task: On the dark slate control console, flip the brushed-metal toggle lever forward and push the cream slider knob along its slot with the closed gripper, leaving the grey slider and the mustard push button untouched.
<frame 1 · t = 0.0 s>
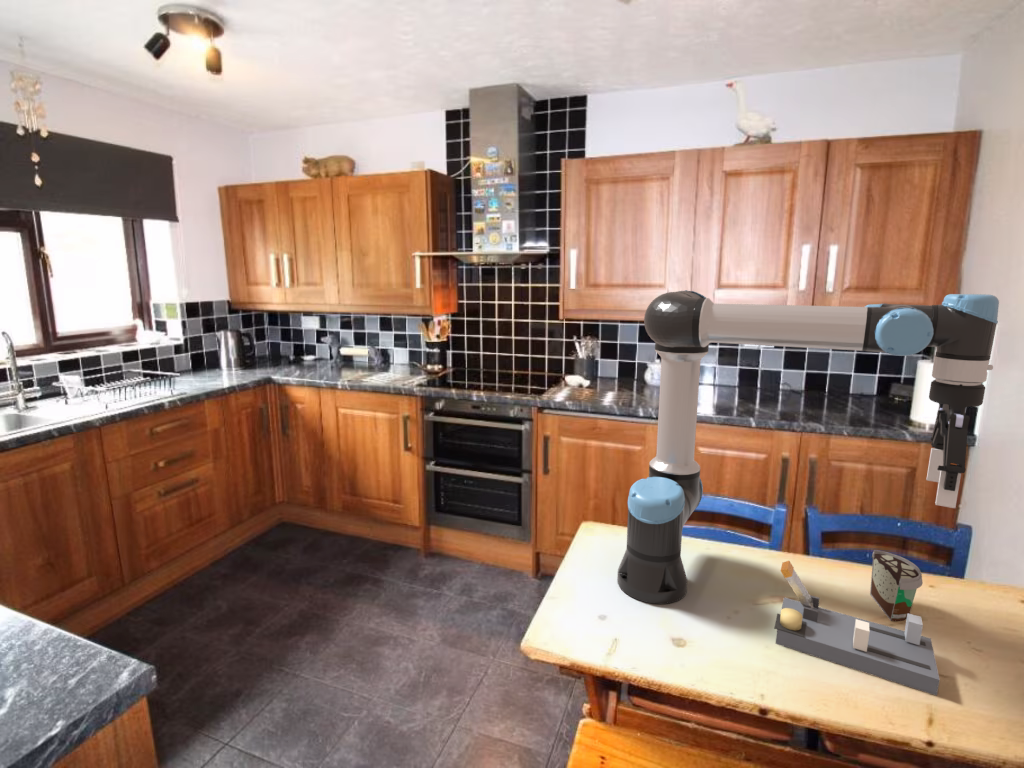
hand: (939, 493, 99), 28 cm above the table, fingers open, 13 cm apart
button: (791, 619, 100), point 4 cm above the table, slide at 0.0 cm
lever: (798, 587, 104), point 8 cm above the table, hinge at -35.0°
panel: (850, 648, 98), on the table
food container: (896, 610, 110), on the table
cream slider: (861, 635, 94), point 5 cm above the table, slide at 0.0 cm
grey slider: (913, 629, 96), point 5 cm above the table, slide at 6.0 cm
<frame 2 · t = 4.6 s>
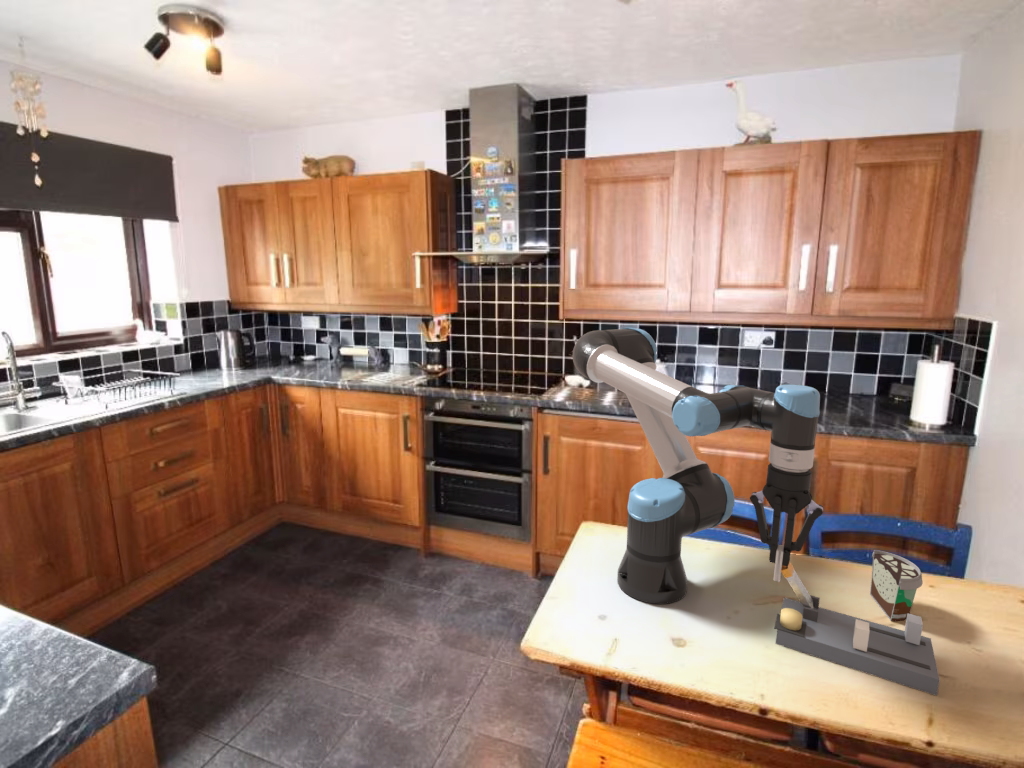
hand: (777, 578, 106), 9 cm above the table, fingers closed
lever: (798, 587, 104), point 8 cm above the table, hinge at -34.8°, touching gripper
everything else where it was.
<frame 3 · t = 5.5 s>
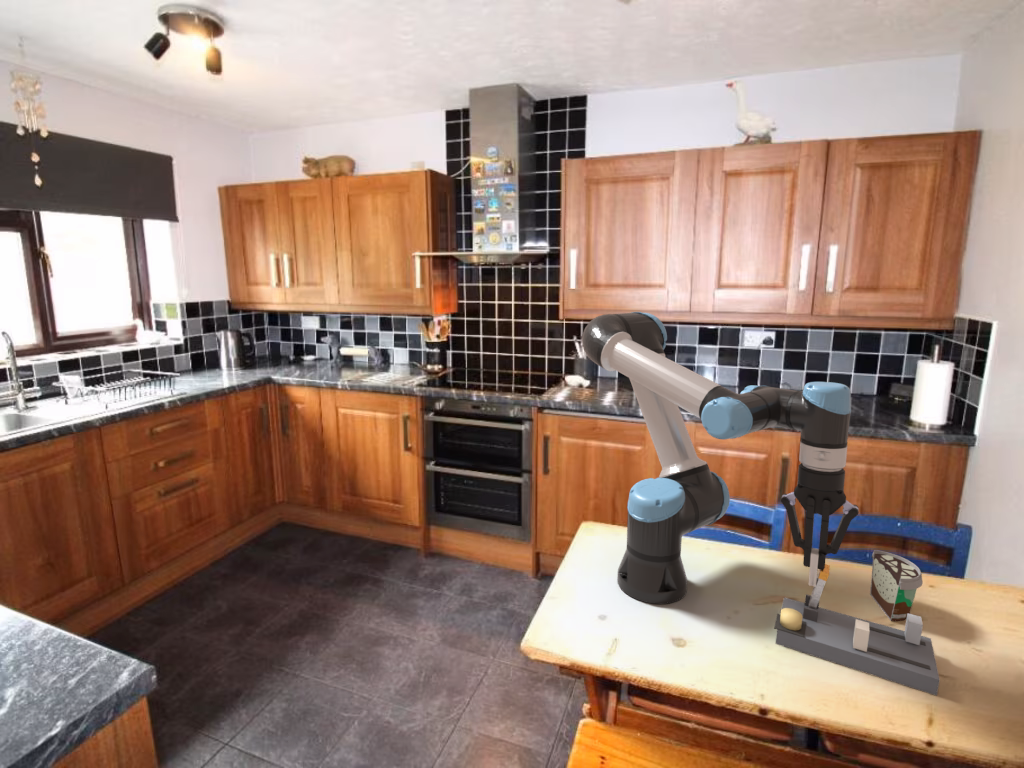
hand: (812, 582, 102), 10 cm above the table, fingers closed
lever: (817, 589, 103), point 8 cm above the table, hinge at 9.6°, touching gripper
everything else where it was.
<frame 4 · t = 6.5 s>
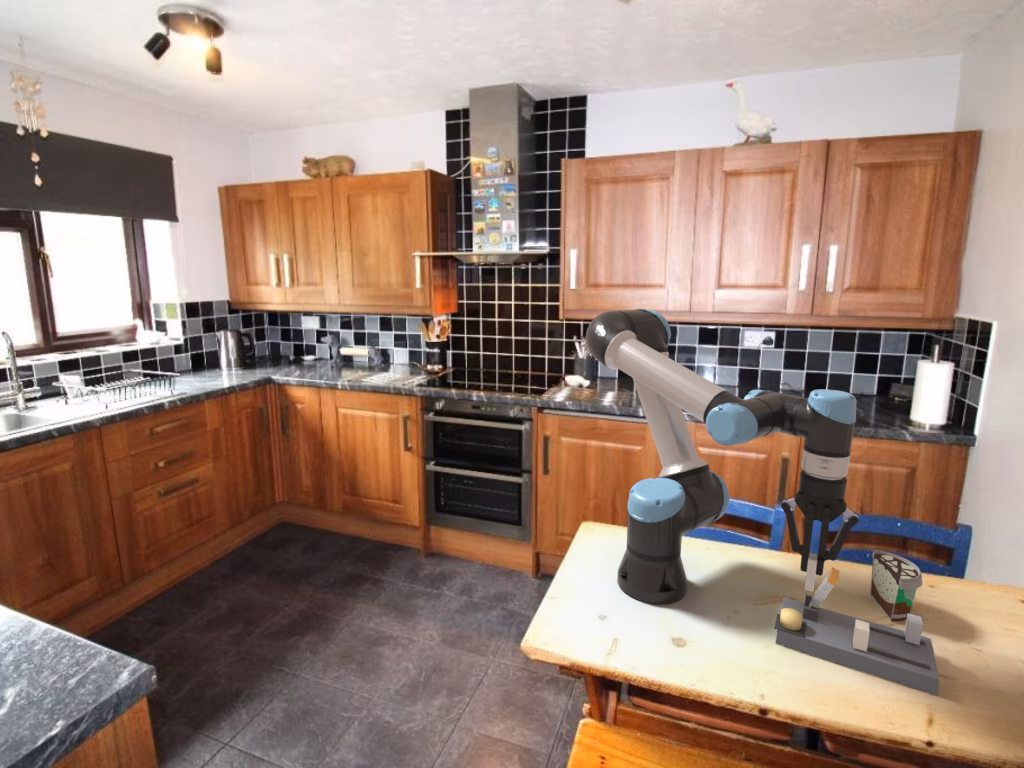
hand: (809, 587, 103), 8 cm above the table, fingers closed
lever: (822, 591, 102), point 8 cm above the table, hinge at 20.6°
everything else where it was.
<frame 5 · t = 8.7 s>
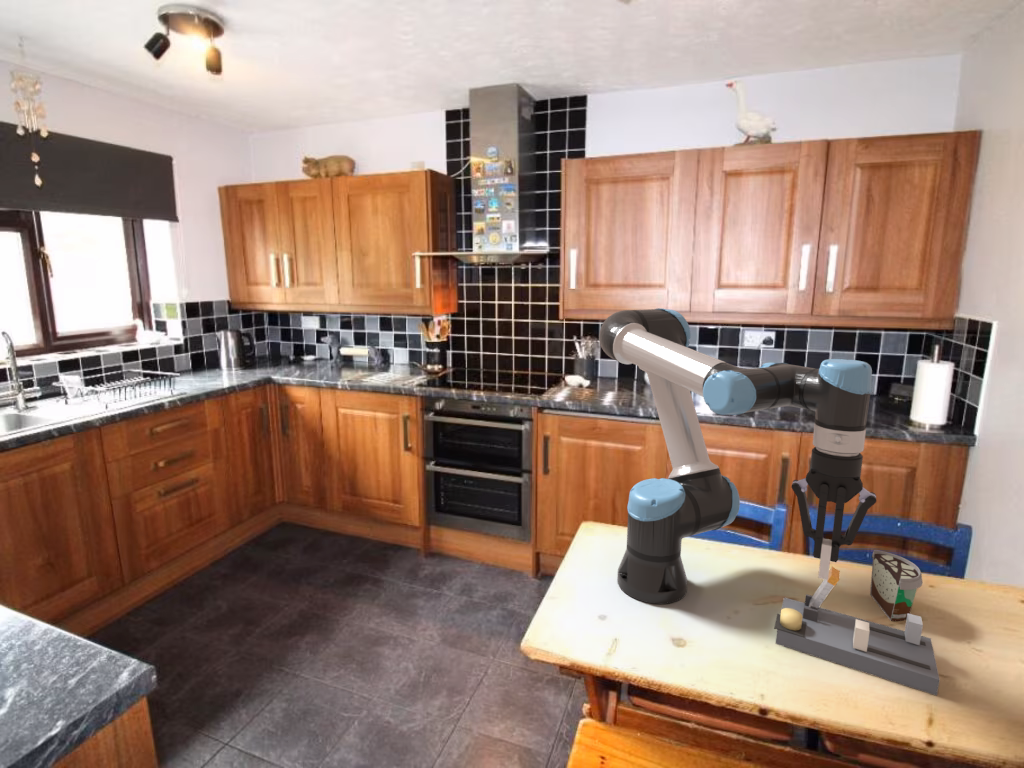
hand: (823, 575, 95), 15 cm above the table, fingers closed
nothing on the table moved.
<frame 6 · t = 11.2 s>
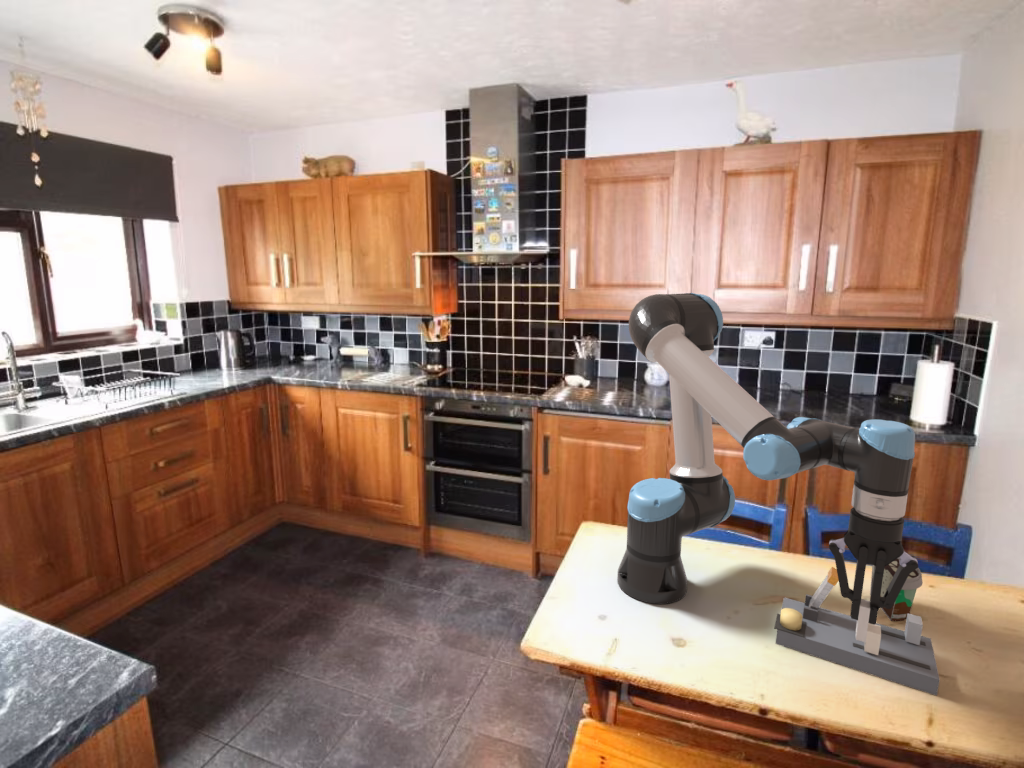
hand: (860, 636, 94), 5 cm above the table, fingers closed
cream slider: (872, 638, 93), point 5 cm above the table, slide at 1.7 cm, touching gripper
everything else where it was.
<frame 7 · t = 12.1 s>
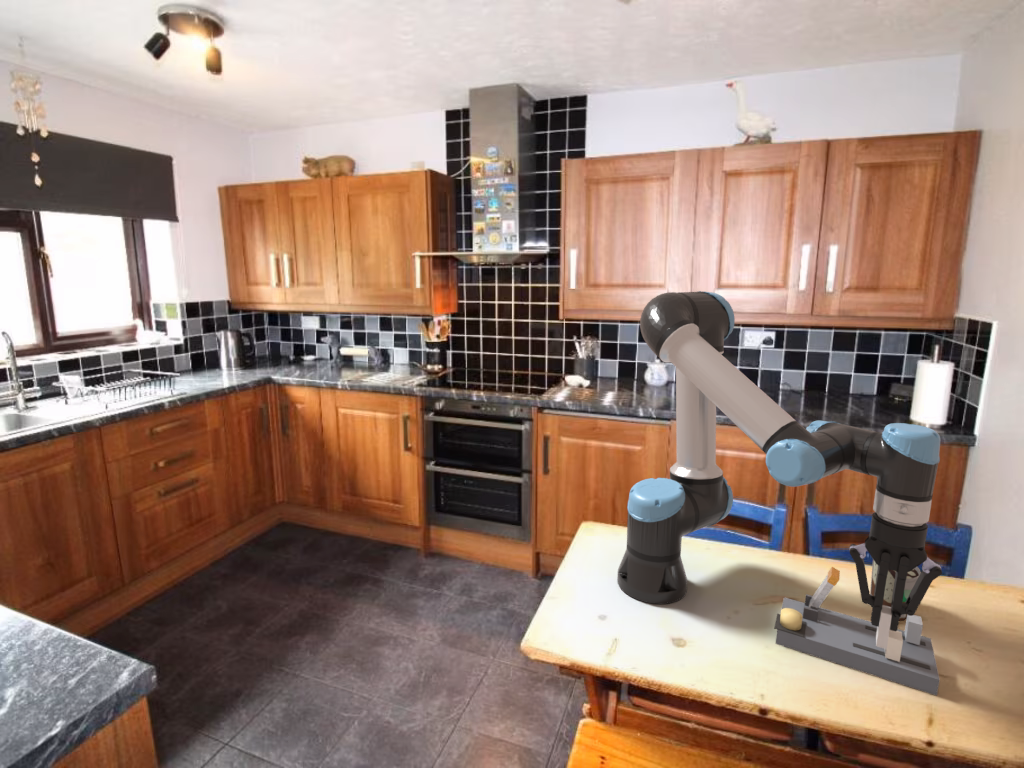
hand: (881, 643, 92), 5 cm above the table, fingers closed
cream slider: (893, 644, 91), point 5 cm above the table, slide at 4.7 cm, touching gripper
everything else where it was.
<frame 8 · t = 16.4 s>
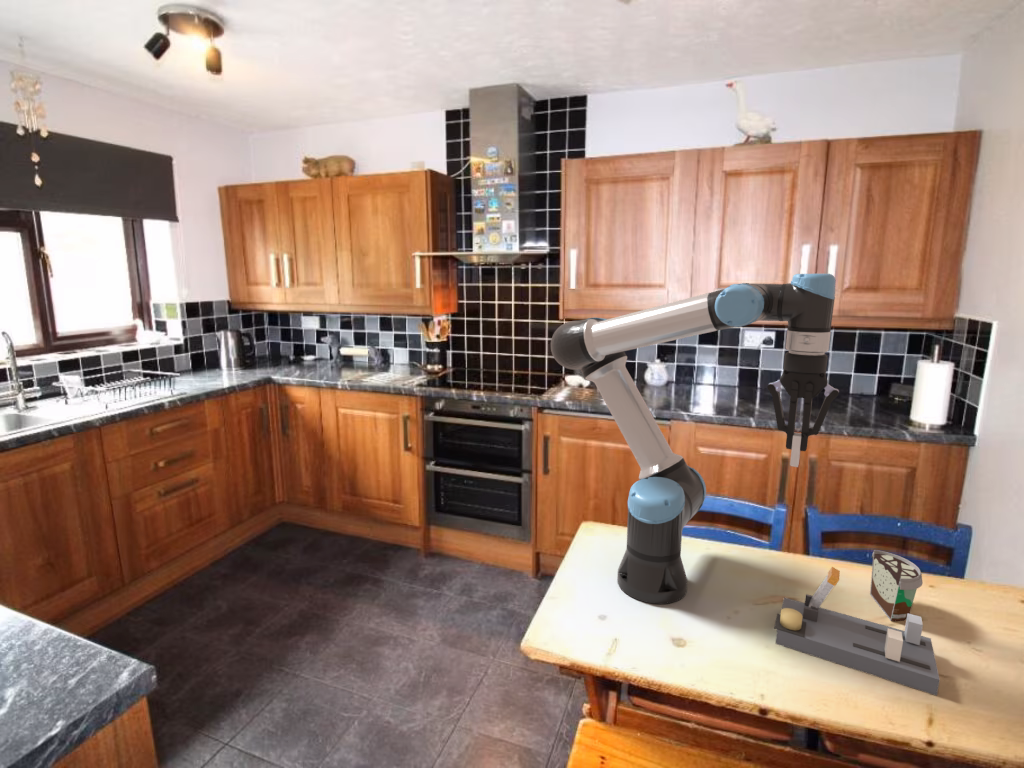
hand: (794, 464, 110), 29 cm above the table, fingers closed
cream slider: (893, 644, 91), point 5 cm above the table, slide at 4.7 cm
everything else where it was.
at the end: lever at +21° (first picture: -35°); cream slider slide at 4.7 cm; grey slider slide at 6.0 cm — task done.
